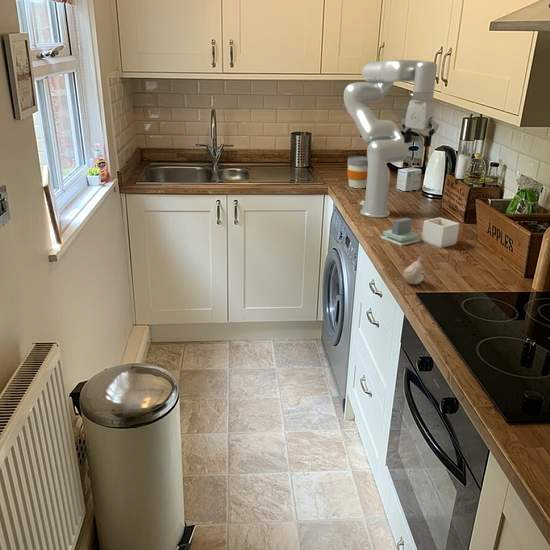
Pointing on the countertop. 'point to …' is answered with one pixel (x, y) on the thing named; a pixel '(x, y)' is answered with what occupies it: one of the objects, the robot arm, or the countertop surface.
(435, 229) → the tub
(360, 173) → the reusable coffee cup
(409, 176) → the light bulb box
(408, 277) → the garlic bulb
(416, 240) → the mat
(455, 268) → the countertop surface
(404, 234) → the lid
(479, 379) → the countertop surface
